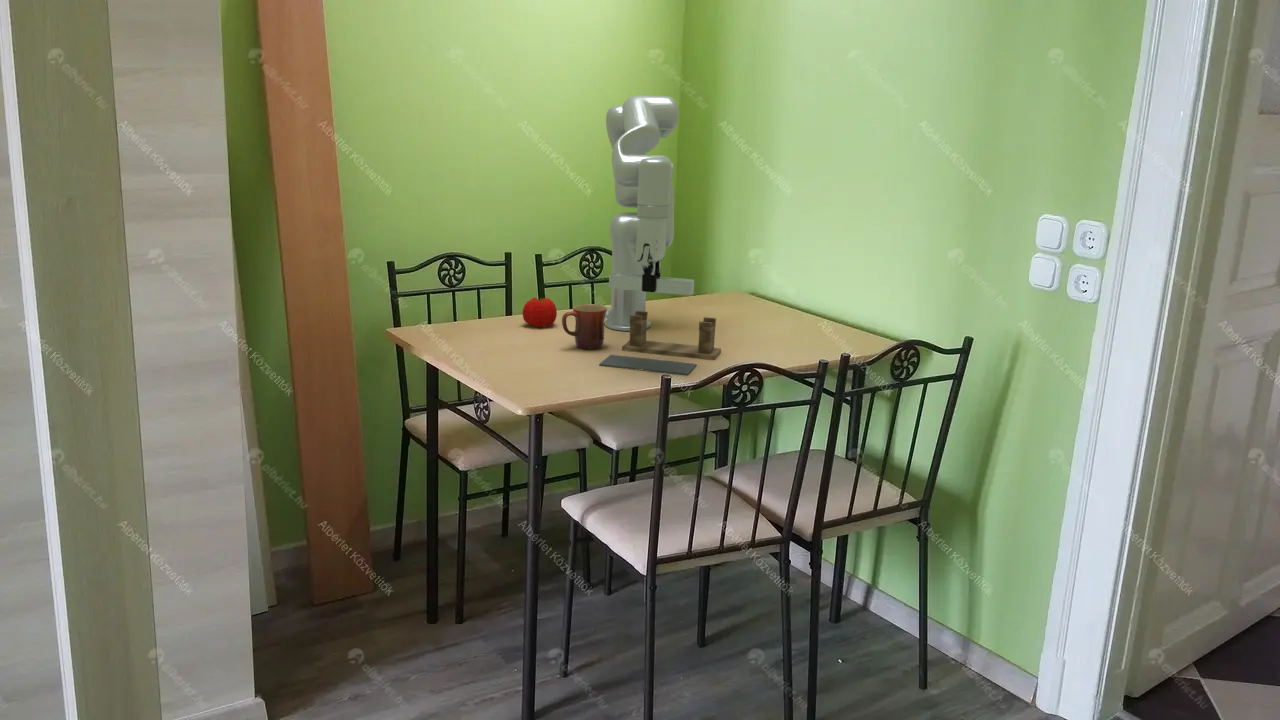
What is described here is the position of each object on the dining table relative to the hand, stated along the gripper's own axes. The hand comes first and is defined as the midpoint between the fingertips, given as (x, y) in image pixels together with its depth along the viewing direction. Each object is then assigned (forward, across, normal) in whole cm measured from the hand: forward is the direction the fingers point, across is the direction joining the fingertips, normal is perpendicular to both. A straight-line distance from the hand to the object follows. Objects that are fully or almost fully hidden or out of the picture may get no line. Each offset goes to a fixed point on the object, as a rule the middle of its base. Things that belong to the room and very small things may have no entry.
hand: (650, 289), depth 237 cm
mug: (+19, -10, -20) cm, 30 cm away
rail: (0, 0, 0) cm, 0 cm away
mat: (+19, 0, 0) cm, 19 cm away
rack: (+19, -15, +2) cm, 24 cm away
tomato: (+19, -27, -39) cm, 51 cm away
